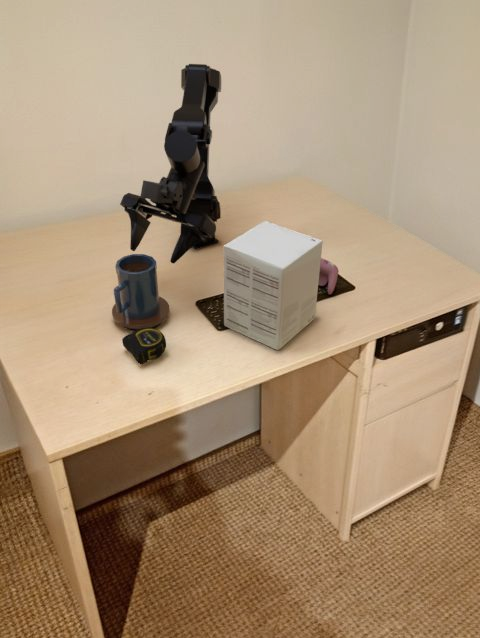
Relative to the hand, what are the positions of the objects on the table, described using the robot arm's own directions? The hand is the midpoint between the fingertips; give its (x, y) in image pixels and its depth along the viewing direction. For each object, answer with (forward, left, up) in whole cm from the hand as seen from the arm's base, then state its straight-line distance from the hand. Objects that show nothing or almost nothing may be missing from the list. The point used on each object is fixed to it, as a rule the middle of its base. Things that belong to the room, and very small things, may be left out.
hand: (151, 256), depth 115 cm
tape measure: (+9, +13, -12) cm, 20 cm away
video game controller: (-32, +11, -12) cm, 36 cm away
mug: (+5, +2, -10) cm, 11 cm away
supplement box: (-16, +17, -12) cm, 26 cm away
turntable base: (+4, +2, -11) cm, 12 cm away
